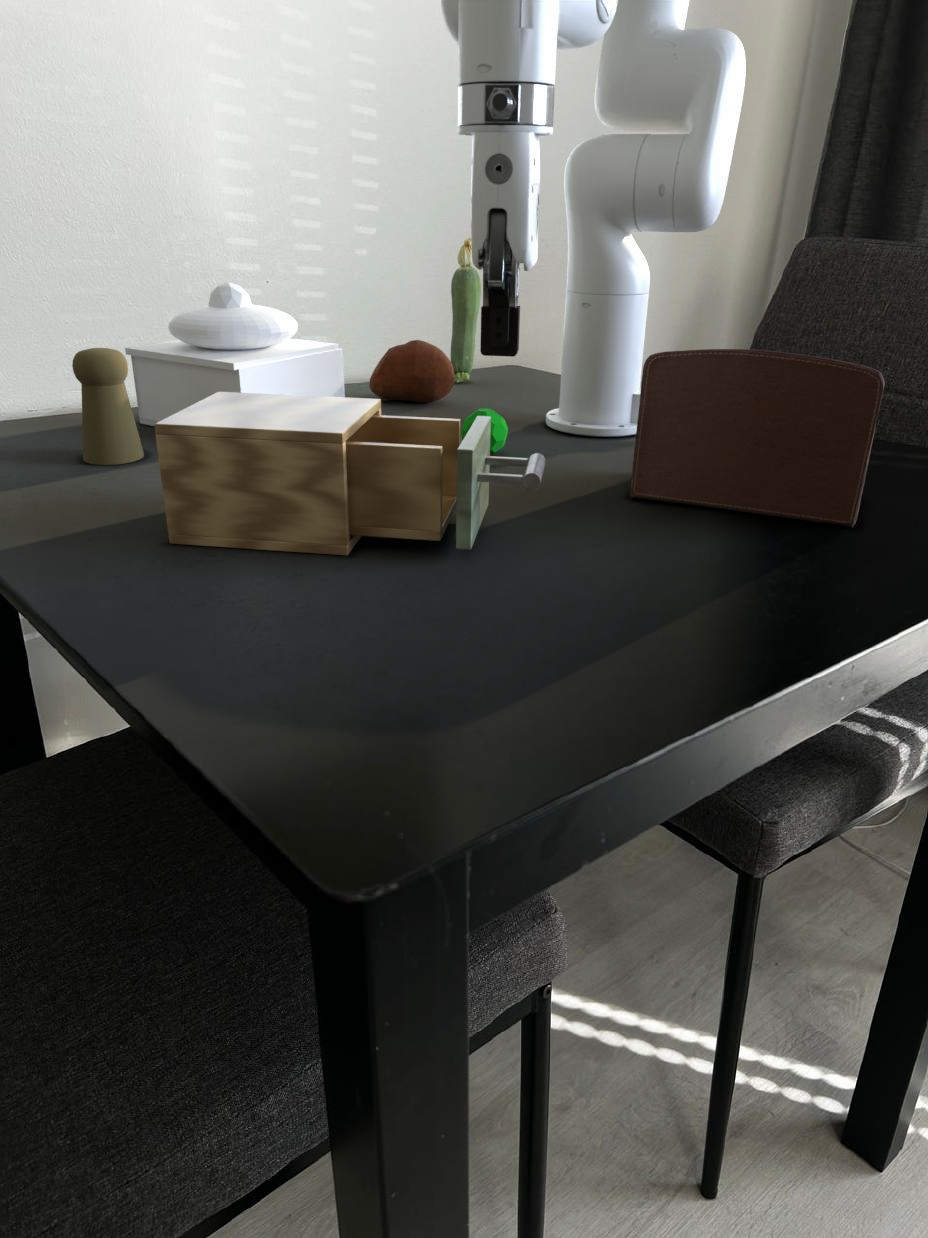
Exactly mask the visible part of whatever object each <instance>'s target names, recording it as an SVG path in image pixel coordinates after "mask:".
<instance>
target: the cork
mask: <svg viewBox="0 0 928 1238" xmlns="http://www.w3.org/2000/svg"><path fill="white" fill-rule="evenodd" d="M128 364H129V363H128V360H127V359H126V356H125V355H124V354H123V352H121V351H119V350H117V349H115V348H109V347H92V348H87V349H83V350H80V351H78V352H76V353H75V355H74V357H73V359H72V365H71V366H72V372H73V374H74V377H75V379H76V380H77V381H78V382H79V383H80V384H81V385H80V386H81V423H82V425H81V427H82V428H81V429H82V460H83V461H84V463H87V464H91V465H97V466H99V465H100V466H113V465H123V464H128V463H129V464H130V463H133V462H134V463H135V462H137V461H139V460H141V459H143V458H144V457H145V452H144V450H143V449H144V448H143V445H142V441H141V439H140V435H139V431H138V428H137V424H136V420H135V416H134V413H133V409H132V405H131V401H130V398H129V394H128V390H127V387H126V383H125V381H126V379H127V377H128V375H129V373H128V372H129V365H128Z"/></svg>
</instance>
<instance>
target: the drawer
mask: <svg viewBox="0 0 928 1238" xmlns="http://www.w3.org/2000/svg"><path fill="white" fill-rule="evenodd" d="M490 435H491V417H490V416H477V417H476V419H475V421H474V422H473V424H472V426H471V427H470V429H469V431H468V432H467V434H466V436H465V438H464V439H463V440H461V418H448V417H447V418H445V417H424V416H404V415H403V416H402V415H385V414H381V415H373V416H372V417H371V418H370V419H369V420H368V421H367V422H365V423H364V424H363V425H362V426H361V427H360V428H359V429H358V430H357V431H356V432H355V433H354V434H353V435H352V436H351V437H349V438H348V439H347V440H346V441H345V442H346V463H347V488H348V513H349V535H355V536H361V537H371V538H388V539H403V540H420V541H433V542H434V541H435V542H440V541H441V540H442V538H443V536H444V534H445V532H446V530H447V528H448V526H449V524H450V522H451V520H452V518H453V515H454V513H456V514H455V549H456V550H469V551H471V550H472V548H473V545H474V543H475V540H476V539H477V535H478V532H479V530H480V527H481V525H482V522H483V519H484V517H485V514H486V511H487V509H488V506H489V502H490V501H489V499H490V498H489V497H490V483H495V484H510V485H511V484H512V485H523V487H524V488H525V489H526V490H527V491H536V490H538V489H539V488H540V486H541V484H542V479H543V474H544V471H545V466H546V458H545V456H544V455H543V454H541V453H539V452H535V453H533V454H531V455H530V456H529V457H514V456H495V455H494V456H493V455H490ZM491 466H502V467H503V466H506V467H522V468H523V467H524V468H525V471H524V474H512V473H511V474H510V473H495V472H494V473H493V472H492V473H491V472H490V468H491Z"/></svg>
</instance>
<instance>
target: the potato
mask: <svg viewBox="0 0 928 1238" xmlns="http://www.w3.org/2000/svg"><path fill="white" fill-rule="evenodd" d="M368 385H369V389H370V392H372V393H373V394H374V395H375V396H377V397H379V398H380V399H382V400H383V399H384V400H391V401H408V402H409V401H410V402H415V403H433V402H437V401H439V400H441V399H442V398H444V397H446V396H448V395H449V393H450V392H452V389H453V387H454V385H455V375H454V370H453V365H452V363H451V359H450V358H449V357H448V356H447V355H446V354H445V352H444V351H443V350H442V349H441V348H439V347H438V346H436V345H434V344H432V343H429V342H426V341H424V340H420V339H413V340H409V341H408V342H406V343H403V344H397V345H395V346H392V347H390V348H388V349H387V351H386V352H385V353H384V354H383V355H382V357H381V358H380V360H379V361H378V363H377V364H376V366H375V367H374V369H373V371H372V374H371V375H370V378H369V384H368Z"/></svg>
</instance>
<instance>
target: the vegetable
mask: <svg viewBox="0 0 928 1238" xmlns="http://www.w3.org/2000/svg"><path fill="white" fill-rule="evenodd" d="M457 264H458V265H459V267H458V268H457V269H456V270H455V271H454V273H453V275H452V278H451V284H450V296H451V311H452V312H451V313H452V326H451V341H450V352H449V353H450V361H451V363H452V365H453V370H454V376H455V378H454V380H455V382H456V383H459V382H462V383H465V382H467V381H469V380H470V374H471V373H472V370H473V367H474V359H475V358H474V357H475V349H476V335H477V324H478V323H477V322H478V315H479V311H480V308H481V299H482V298H481V297H482V283H481V282H482V281H481V278H480V274H479V272H478V271H477V270H476V269H475V268H474V267H473V266H471V265H473V262H472V248H471V237H469V238H465V240H464V241H463V245H461V246H460V248H459V251H458V253H457Z"/></svg>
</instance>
